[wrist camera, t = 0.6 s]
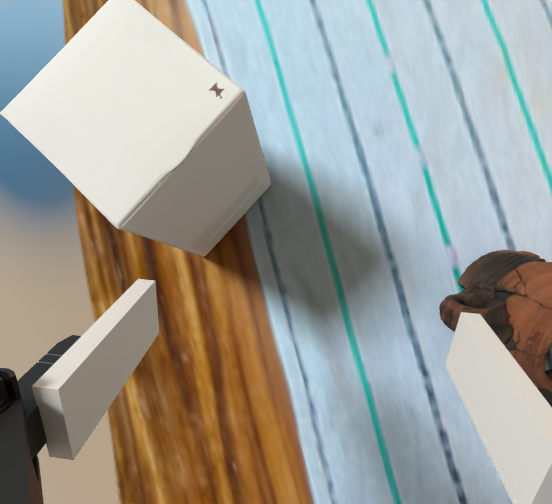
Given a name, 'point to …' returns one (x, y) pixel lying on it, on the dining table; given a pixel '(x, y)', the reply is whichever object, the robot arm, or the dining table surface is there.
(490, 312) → the pottery mug
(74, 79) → the supplement box
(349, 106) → the dining table surface
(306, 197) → the dining table surface
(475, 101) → the dining table surface
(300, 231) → the dining table surface
